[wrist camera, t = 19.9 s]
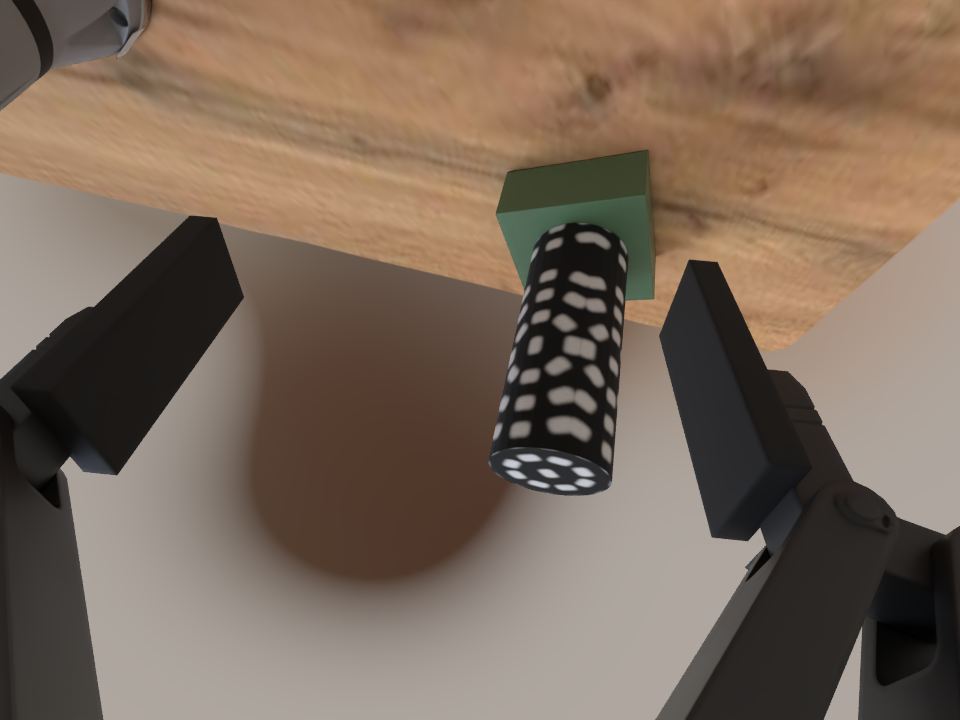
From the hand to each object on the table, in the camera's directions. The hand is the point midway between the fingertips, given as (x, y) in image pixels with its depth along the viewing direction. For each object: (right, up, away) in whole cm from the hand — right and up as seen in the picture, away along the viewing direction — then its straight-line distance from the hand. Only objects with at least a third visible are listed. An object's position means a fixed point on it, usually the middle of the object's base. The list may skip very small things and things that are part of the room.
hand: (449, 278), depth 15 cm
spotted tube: (+10, +7, +30) cm, 32 cm away
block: (+11, +11, +33) cm, 36 cm away
